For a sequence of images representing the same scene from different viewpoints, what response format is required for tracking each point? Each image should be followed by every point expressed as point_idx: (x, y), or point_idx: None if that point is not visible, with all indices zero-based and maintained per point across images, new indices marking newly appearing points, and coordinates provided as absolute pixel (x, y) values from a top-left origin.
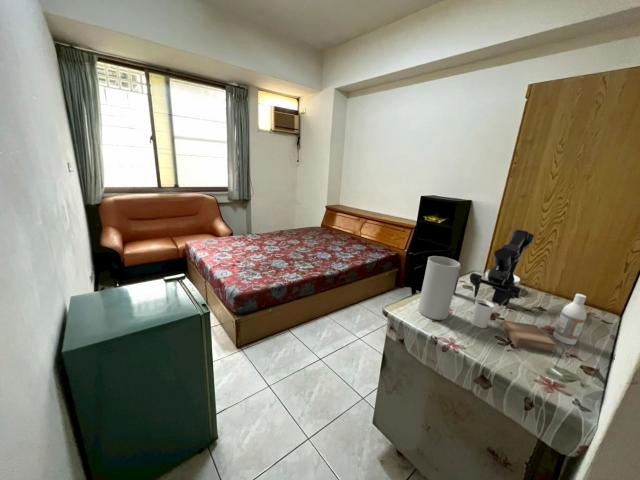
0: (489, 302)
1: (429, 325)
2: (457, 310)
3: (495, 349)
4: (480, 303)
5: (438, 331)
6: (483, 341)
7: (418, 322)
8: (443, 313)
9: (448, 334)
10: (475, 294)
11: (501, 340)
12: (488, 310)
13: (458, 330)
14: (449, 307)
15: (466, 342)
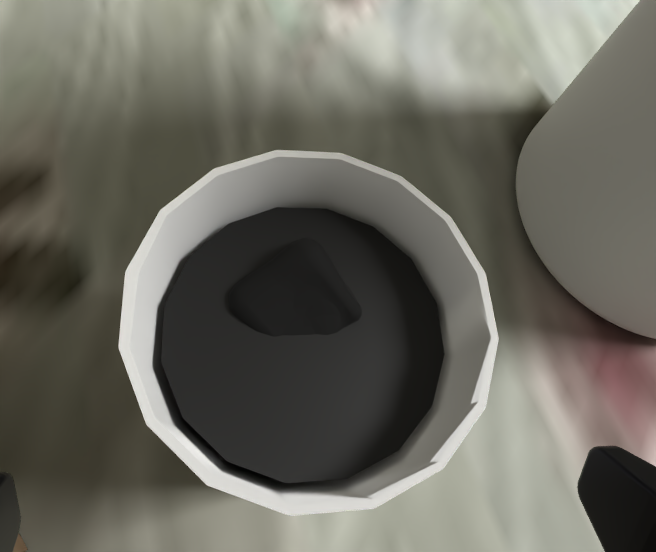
0: (259, 496)
1: (516, 35)
2: (563, 509)
3: (52, 72)
4: (399, 402)
5: (440, 12)
6: (156, 112)
7: (575, 20)
8: (556, 106)
9: (381, 23)
10: (649, 472)
11: (12, 251)
12: (198, 229)
13: (360, 119)
14: (592, 141)
15: (254, 16)
